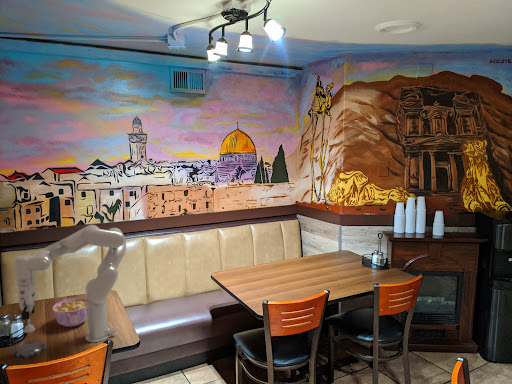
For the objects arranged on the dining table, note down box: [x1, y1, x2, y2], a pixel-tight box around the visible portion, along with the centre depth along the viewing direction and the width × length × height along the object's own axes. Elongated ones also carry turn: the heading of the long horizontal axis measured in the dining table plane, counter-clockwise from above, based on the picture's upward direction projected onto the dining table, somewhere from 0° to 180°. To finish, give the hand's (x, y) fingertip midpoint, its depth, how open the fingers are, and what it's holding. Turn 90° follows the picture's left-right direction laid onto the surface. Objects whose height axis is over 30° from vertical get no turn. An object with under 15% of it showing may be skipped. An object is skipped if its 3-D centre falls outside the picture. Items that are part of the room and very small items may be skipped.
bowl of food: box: [52, 297, 88, 328], centre depth 217 cm, size 20×20×12 cm
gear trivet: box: [16, 341, 47, 359], centre depth 188 cm, size 13×13×2 cm
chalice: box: [23, 294, 36, 334], centre depth 186 cm, size 7×7×18 cm
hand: (28, 315), depth 186 cm, fingers closed on chalice, 5 cm apart
